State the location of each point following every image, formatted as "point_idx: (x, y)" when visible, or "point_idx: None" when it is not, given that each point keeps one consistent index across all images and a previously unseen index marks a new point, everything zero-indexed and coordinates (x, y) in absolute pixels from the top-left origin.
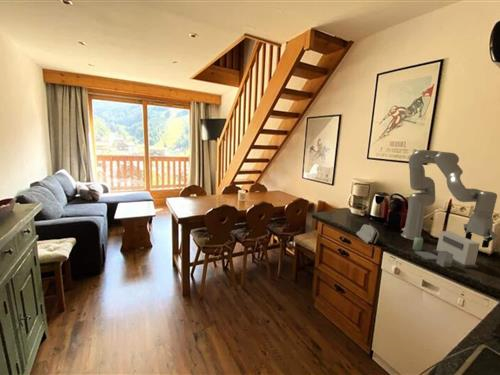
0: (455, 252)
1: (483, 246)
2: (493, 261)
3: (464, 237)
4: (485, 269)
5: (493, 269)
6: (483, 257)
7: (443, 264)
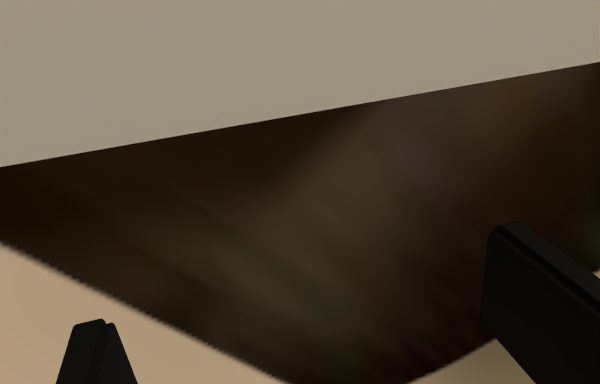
0: None
1: (77, 349)
2: (285, 371)
3: (444, 80)
4: None
5: (55, 256)
6: (364, 339)
7: None
